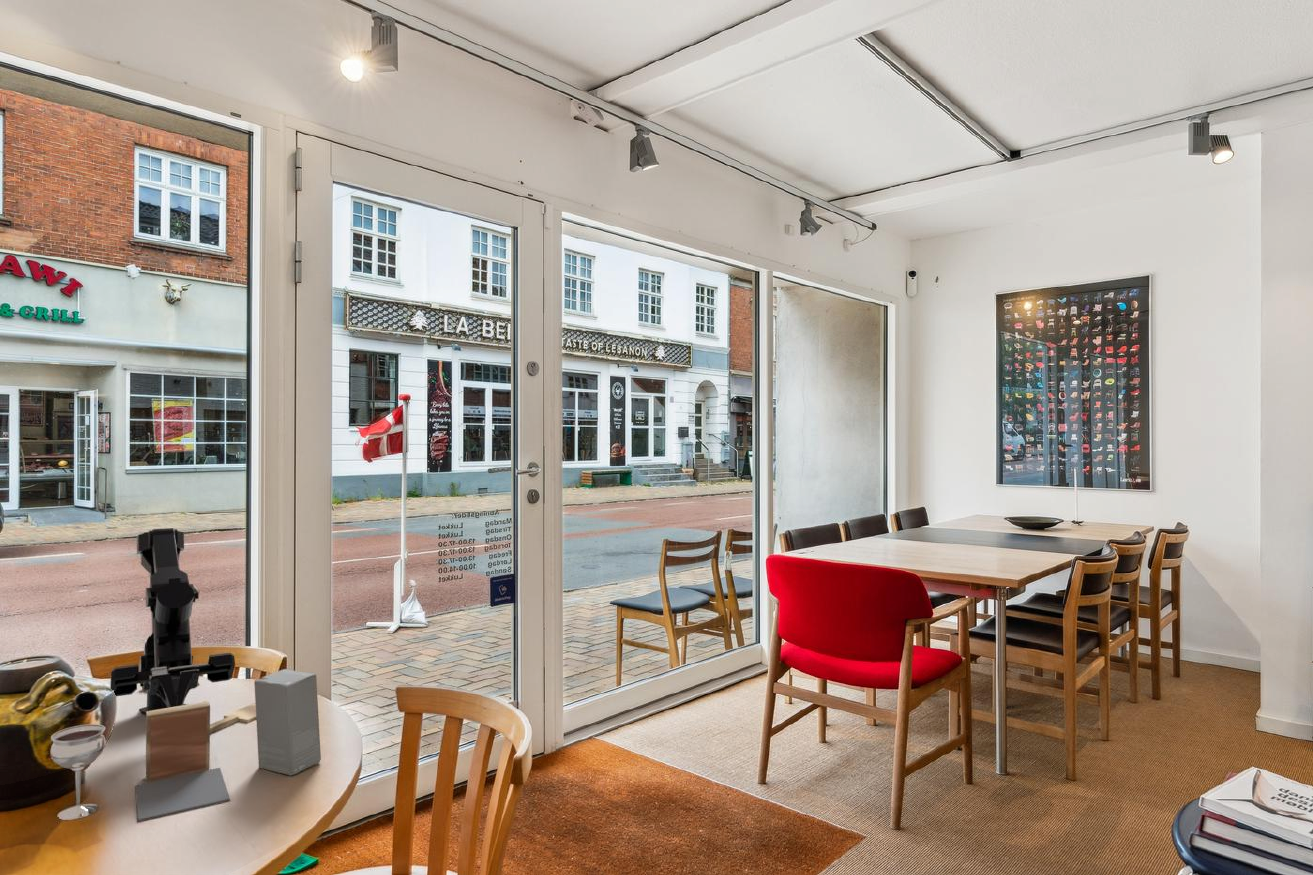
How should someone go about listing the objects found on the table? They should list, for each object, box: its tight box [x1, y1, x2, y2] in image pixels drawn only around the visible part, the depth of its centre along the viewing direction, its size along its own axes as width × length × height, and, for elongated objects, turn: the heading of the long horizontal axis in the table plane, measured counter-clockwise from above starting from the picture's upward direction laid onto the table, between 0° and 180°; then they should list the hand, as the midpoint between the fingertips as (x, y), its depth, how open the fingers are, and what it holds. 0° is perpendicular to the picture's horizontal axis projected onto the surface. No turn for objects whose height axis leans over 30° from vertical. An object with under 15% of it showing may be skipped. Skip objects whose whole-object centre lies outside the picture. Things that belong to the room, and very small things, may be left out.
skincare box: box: [253, 668, 322, 777], centre depth 135 cm, size 8×7×16 cm
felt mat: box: [135, 767, 231, 822], centre depth 125 cm, size 13×12×1 cm
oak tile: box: [145, 700, 211, 783], centre depth 132 cm, size 3×9×11 cm, turn 125°
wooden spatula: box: [210, 702, 256, 734], centre depth 154 cm, size 18×6×1 cm, turn 162°
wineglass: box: [49, 723, 107, 821], centre depth 119 cm, size 7×7×12 cm
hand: (176, 717), depth 136 cm, fingers closed
